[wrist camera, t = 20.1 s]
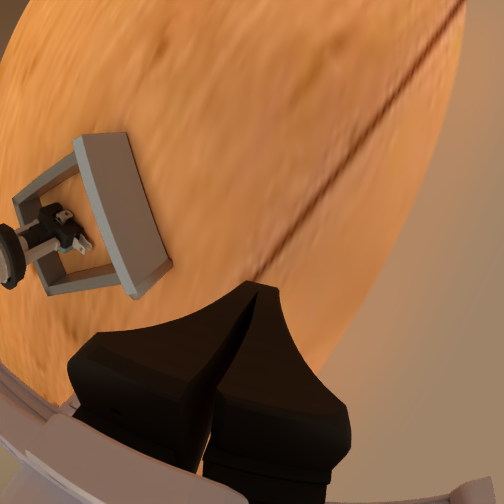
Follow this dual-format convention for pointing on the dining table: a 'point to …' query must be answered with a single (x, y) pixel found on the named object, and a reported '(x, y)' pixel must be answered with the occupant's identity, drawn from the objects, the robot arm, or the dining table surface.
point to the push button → (37, 242)
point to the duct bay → (50, 263)
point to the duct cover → (121, 210)
